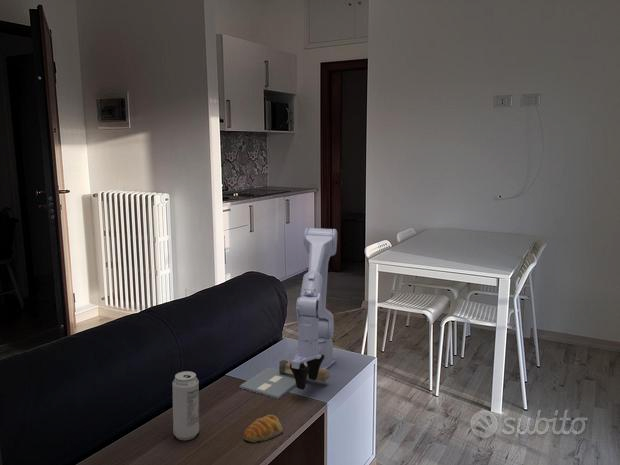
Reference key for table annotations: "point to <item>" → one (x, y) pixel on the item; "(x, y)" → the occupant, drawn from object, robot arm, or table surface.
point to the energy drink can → (185, 405)
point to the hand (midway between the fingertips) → (306, 383)
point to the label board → (270, 383)
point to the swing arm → (322, 373)
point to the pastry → (263, 429)
